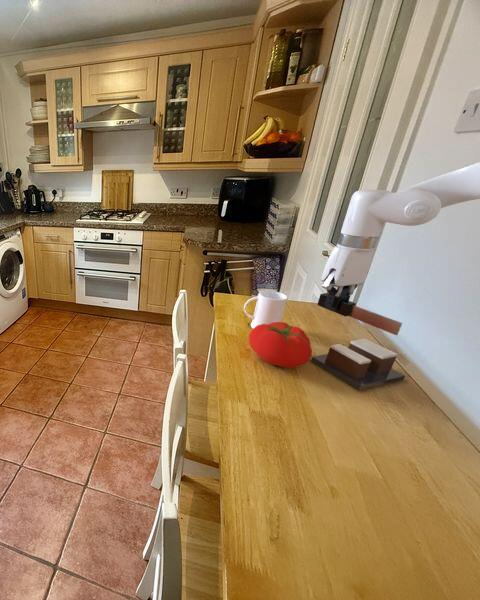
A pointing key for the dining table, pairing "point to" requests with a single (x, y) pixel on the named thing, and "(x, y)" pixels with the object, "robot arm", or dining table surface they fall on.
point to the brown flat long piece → (363, 315)
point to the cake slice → (348, 361)
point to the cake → (374, 355)
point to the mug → (267, 308)
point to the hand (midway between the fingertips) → (334, 307)
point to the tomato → (281, 344)
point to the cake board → (360, 383)
